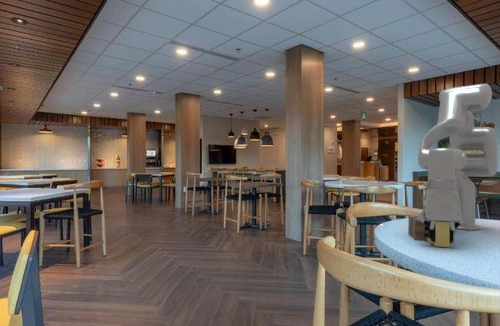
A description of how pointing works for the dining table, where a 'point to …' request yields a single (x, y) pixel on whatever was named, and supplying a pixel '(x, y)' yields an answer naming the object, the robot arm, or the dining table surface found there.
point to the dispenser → (418, 228)
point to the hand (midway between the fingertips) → (440, 240)
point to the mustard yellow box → (440, 234)
